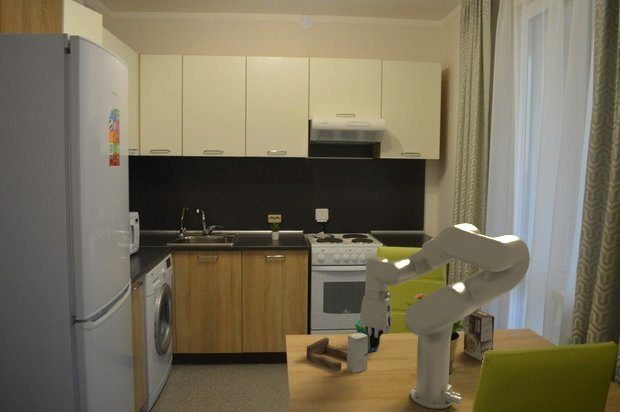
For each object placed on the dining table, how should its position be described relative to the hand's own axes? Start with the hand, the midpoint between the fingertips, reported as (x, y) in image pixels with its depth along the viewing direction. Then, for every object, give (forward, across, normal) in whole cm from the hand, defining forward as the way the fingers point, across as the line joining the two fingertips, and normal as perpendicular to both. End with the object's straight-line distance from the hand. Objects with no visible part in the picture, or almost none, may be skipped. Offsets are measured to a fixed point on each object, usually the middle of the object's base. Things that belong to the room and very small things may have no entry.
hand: (374, 346), depth 145 cm
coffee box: (+10, -22, -40) cm, 47 cm away
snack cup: (+10, +12, -18) cm, 24 cm away
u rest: (+10, +17, 0) cm, 20 cm away
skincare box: (+10, +6, 0) cm, 12 cm away
